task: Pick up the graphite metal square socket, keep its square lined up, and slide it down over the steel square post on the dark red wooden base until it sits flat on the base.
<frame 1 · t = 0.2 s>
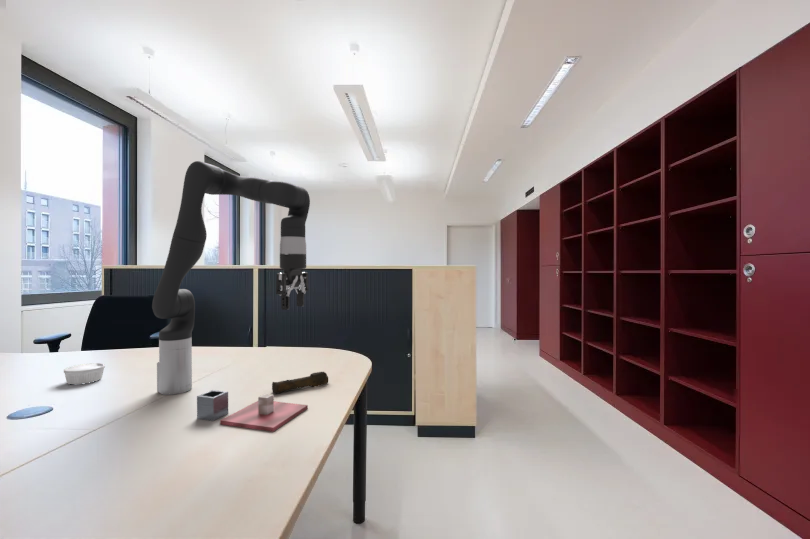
hand: (293, 307, 113), 29 cm above the table, tool pointing down, fingers open, 8 cm apart
post base: (266, 415, 105), on the table
square socket: (212, 415, 105), on the table
ramekin: (84, 382, 137), on the table
hand tool: (300, 389, 129), on the table
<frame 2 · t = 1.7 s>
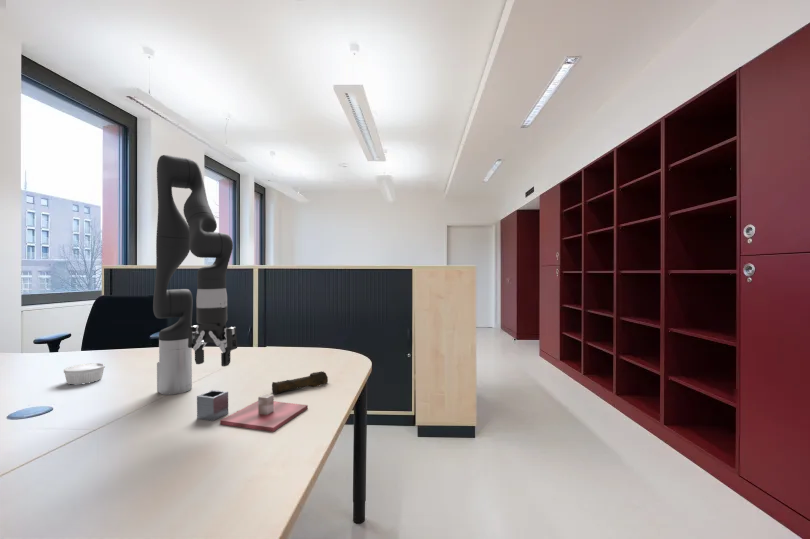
hand: (212, 364, 105), 14 cm above the table, tool pointing down, fingers open, 8 cm apart
nothing on the table moved.
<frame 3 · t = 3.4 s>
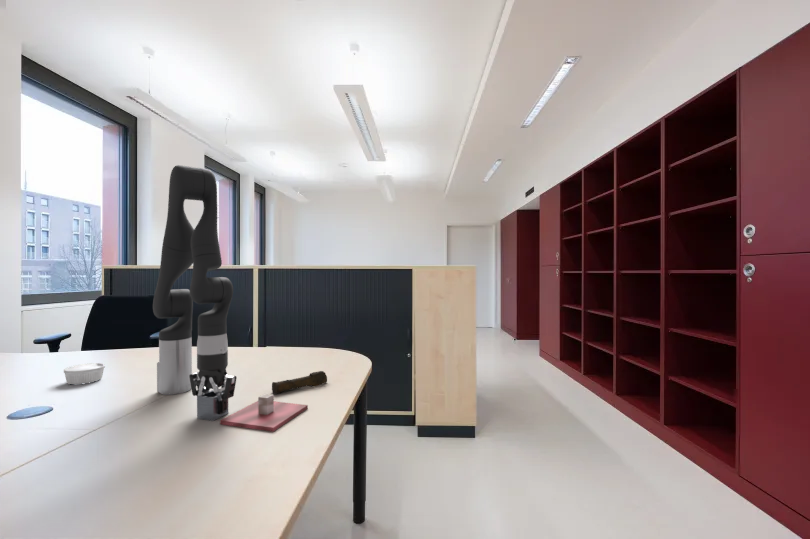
hand: (213, 412, 105), 1 cm above the table, tool pointing down, fingers closed on square socket, 5 cm apart
square socket: (213, 415, 105), on the table, touching gripper
everything else where it was.
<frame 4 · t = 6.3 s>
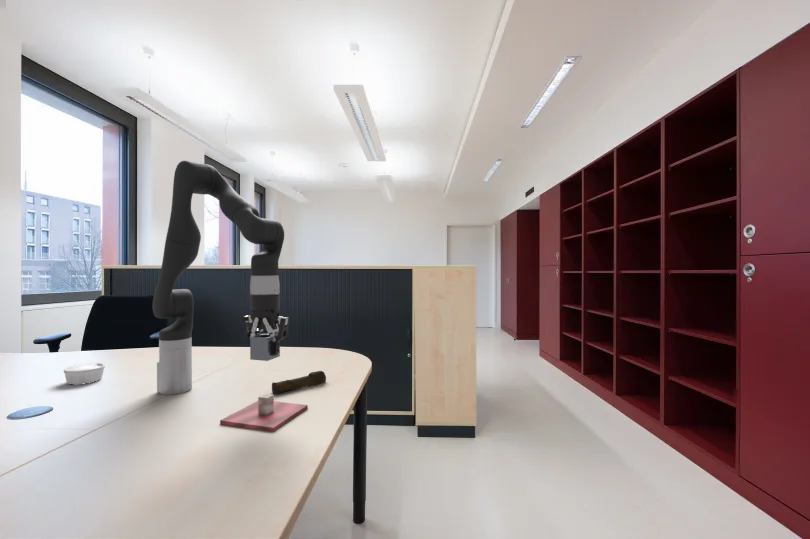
hand: (265, 354, 105), 17 cm above the table, tool pointing down, fingers closed on square socket, 5 cm apart
square socket: (265, 357, 105), point 16 cm above the table, touching gripper
everything else where it was.
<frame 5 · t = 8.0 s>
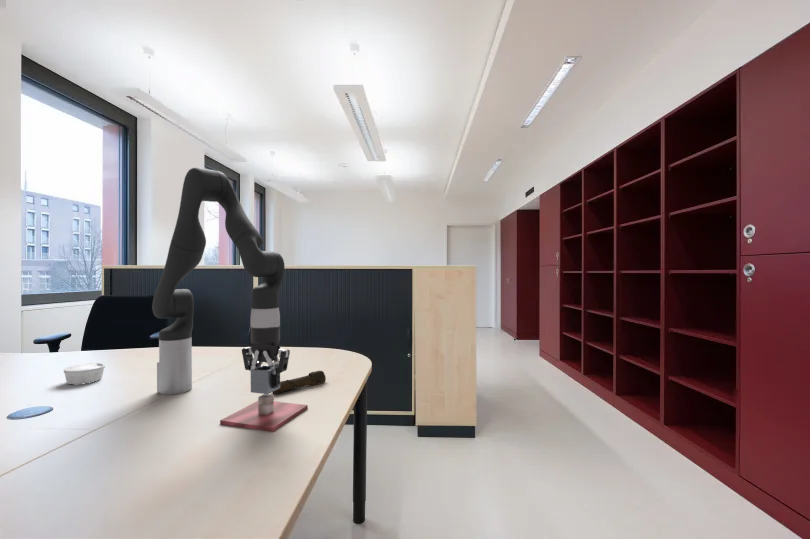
hand: (265, 386, 105), 8 cm above the table, tool pointing down, fingers closed on square socket, 5 cm apart
square socket: (265, 390, 105), point 7 cm above the table, touching gripper
everything else where it was.
when the fingers open (4 cm above the table, at t = 9.3 s): square socket drops 2 cm, resting on post base.
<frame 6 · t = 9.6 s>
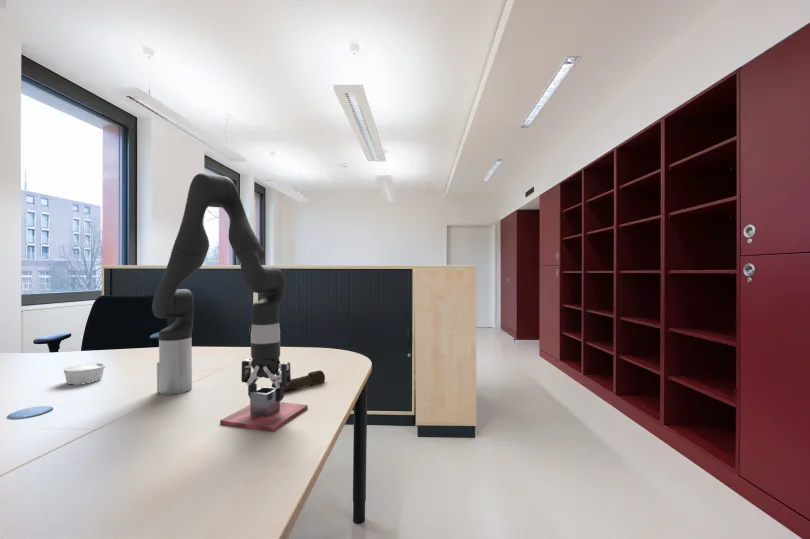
hand: (266, 399, 105), 5 cm above the table, tool pointing down, fingers open, 8 cm apart
square socket: (265, 412, 105), point 1 cm above the table, touching post base
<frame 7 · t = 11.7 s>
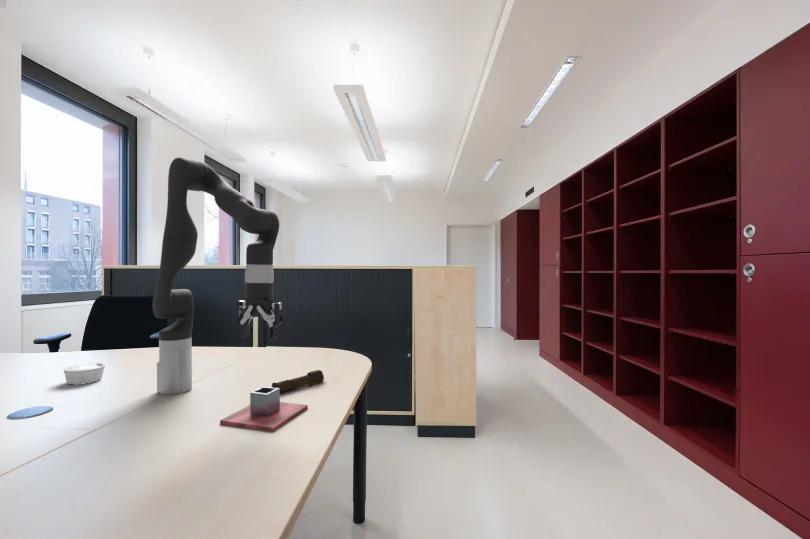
hand: (259, 338, 108), 21 cm above the table, tool pointing down, fingers open, 8 cm apart
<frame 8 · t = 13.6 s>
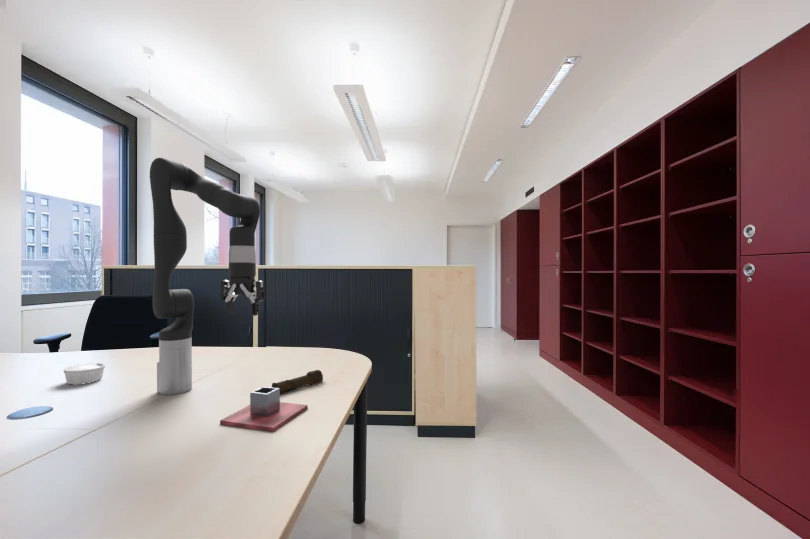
hand: (242, 314, 116), 26 cm above the table, tool pointing down, fingers open, 8 cm apart
at the end: square socket 0.2 cm off-centre on the post base, point 1.0 cm above the post base's base; square socket tilted 0°; the gripper is holding nothing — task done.
